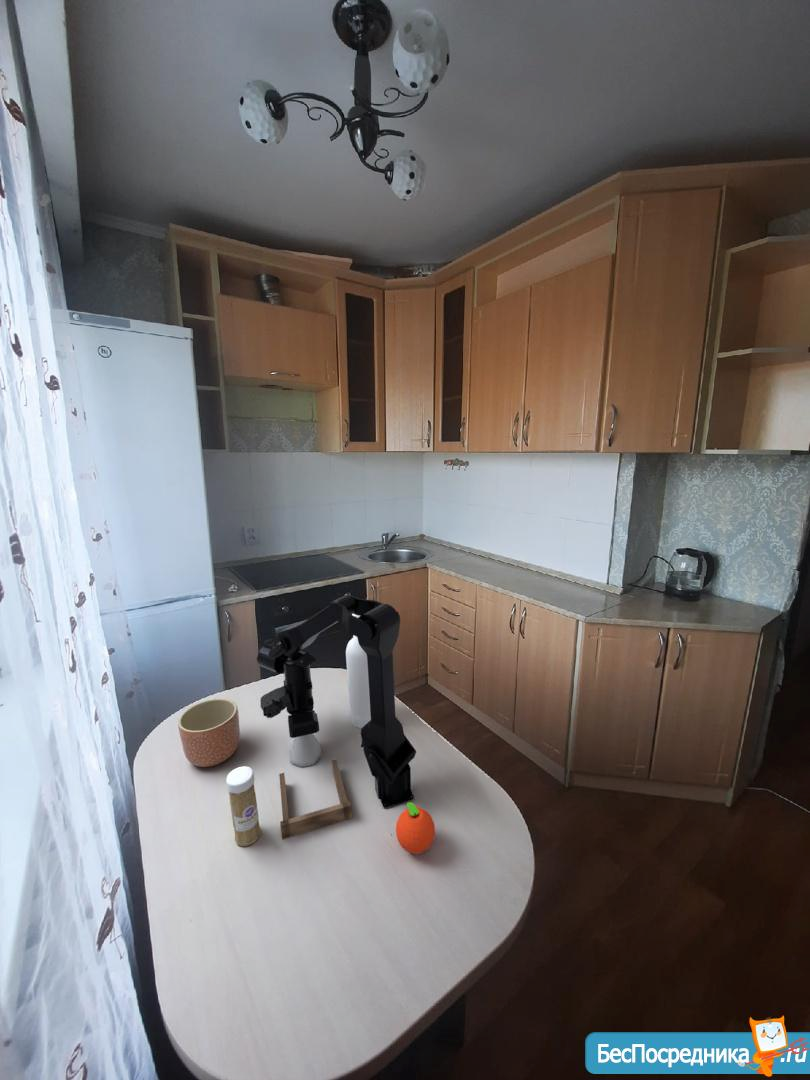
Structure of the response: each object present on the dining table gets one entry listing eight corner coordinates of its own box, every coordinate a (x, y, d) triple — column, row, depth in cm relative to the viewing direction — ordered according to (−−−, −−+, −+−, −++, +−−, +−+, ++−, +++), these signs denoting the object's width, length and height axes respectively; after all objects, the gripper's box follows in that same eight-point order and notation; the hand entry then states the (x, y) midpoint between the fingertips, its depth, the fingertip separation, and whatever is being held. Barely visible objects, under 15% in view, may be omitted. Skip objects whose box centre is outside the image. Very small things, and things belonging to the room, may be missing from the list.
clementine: (389, 830, 80) (387, 799, 78) (423, 818, 82) (423, 787, 81) (404, 870, 73) (403, 836, 71) (441, 855, 75) (441, 822, 73)
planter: (243, 765, 97) (238, 722, 94) (182, 782, 93) (174, 738, 90) (242, 731, 108) (237, 692, 106) (187, 745, 104) (180, 705, 101)
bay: (339, 770, 95) (338, 758, 94) (352, 818, 83) (351, 805, 82) (278, 786, 91) (276, 774, 90) (282, 839, 79) (280, 826, 78)
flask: (325, 742, 102) (322, 710, 98) (316, 769, 95) (313, 736, 91) (295, 739, 103) (291, 707, 98) (284, 766, 96) (280, 733, 92)
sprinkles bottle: (246, 851, 77) (237, 788, 73) (229, 840, 79) (220, 778, 76) (266, 831, 80) (258, 770, 77) (249, 821, 83) (241, 761, 79)
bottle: (348, 730, 108) (340, 618, 100) (351, 710, 115) (344, 605, 108) (380, 728, 108) (375, 617, 101) (381, 709, 115) (376, 604, 108)
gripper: (260, 664, 104) (266, 720, 108) (261, 709, 87) (268, 774, 91) (307, 656, 107) (311, 710, 111) (316, 697, 90) (321, 761, 94)
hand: (303, 736), depth 102 cm, fingers closed, pressing on flask
